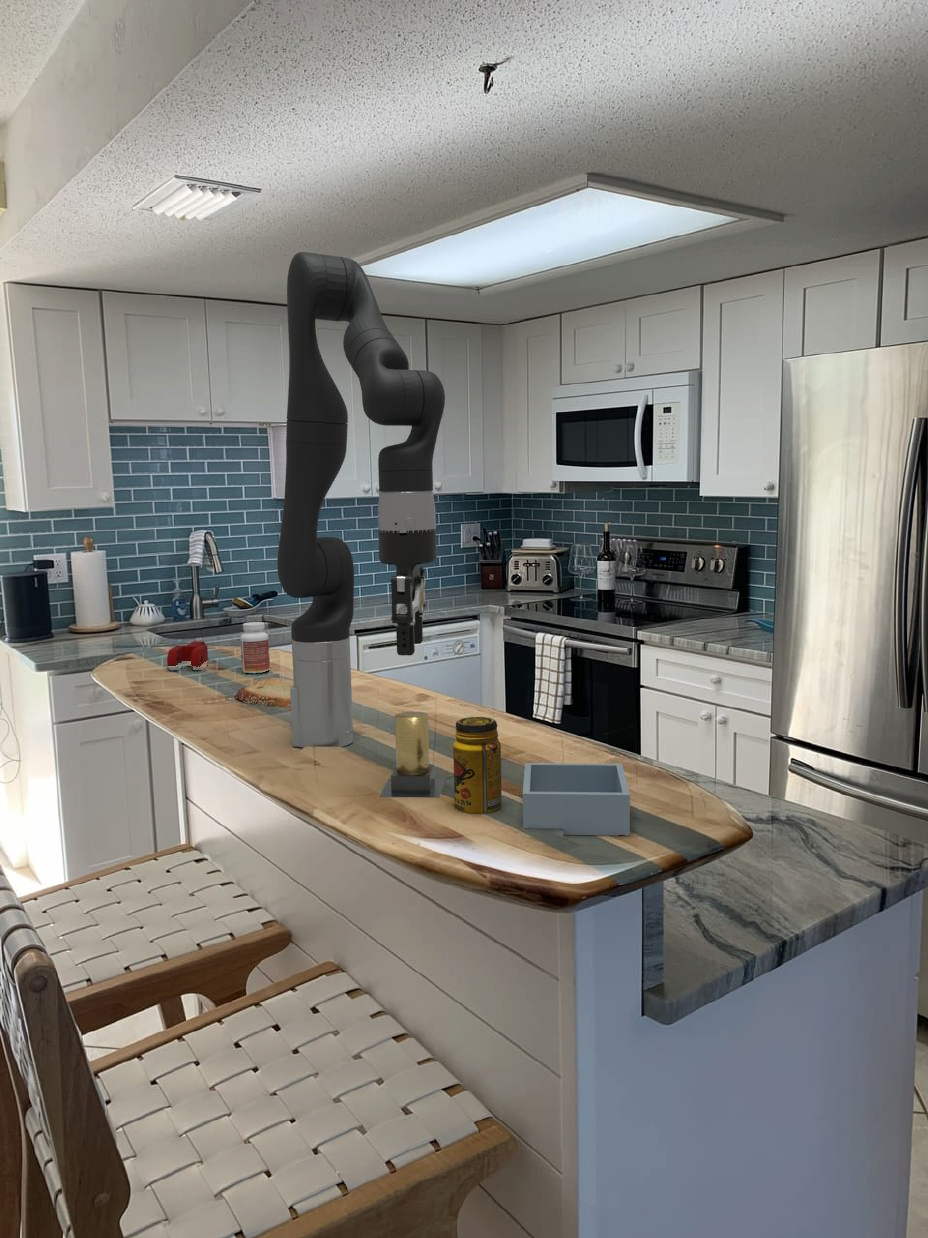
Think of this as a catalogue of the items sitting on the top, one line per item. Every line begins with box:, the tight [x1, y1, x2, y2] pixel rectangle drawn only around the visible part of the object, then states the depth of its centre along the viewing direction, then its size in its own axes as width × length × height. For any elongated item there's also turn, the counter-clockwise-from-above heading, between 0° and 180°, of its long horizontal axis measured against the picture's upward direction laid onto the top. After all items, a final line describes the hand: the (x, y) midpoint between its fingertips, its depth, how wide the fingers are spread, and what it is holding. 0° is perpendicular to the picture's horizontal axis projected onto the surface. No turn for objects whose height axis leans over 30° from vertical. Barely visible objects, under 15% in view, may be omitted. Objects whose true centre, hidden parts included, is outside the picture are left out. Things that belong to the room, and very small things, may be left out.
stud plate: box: [378, 777, 447, 799], centre depth 132 cm, size 8×8×1 cm
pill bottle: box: [239, 621, 271, 673], centre depth 217 cm, size 6×6×11 cm
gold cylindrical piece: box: [390, 711, 436, 794], centre depth 131 cm, size 5×5×10 cm
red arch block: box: [166, 640, 209, 667], centre depth 227 cm, size 16×7×5 cm, turn 1°
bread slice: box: [235, 676, 294, 708], centre depth 191 cm, size 18×18×4 cm
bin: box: [522, 762, 631, 837], centre depth 121 cm, size 13×13×5 cm
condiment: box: [452, 716, 503, 815], centre depth 124 cm, size 7×8×12 cm
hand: (410, 649), depth 129 cm, fingers open, 8 cm apart
